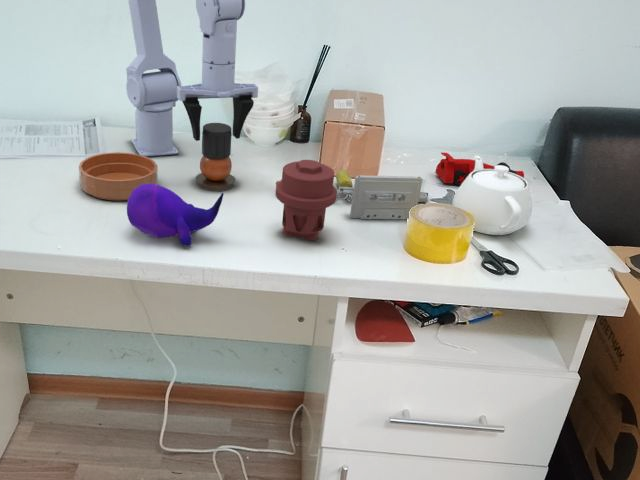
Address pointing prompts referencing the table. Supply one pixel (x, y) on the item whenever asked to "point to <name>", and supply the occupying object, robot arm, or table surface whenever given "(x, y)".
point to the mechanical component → (305, 197)
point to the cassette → (384, 207)
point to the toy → (167, 213)
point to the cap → (216, 140)
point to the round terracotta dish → (116, 174)
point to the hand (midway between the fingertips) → (216, 137)
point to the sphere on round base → (215, 174)
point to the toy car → (462, 169)
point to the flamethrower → (347, 188)
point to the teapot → (495, 199)
